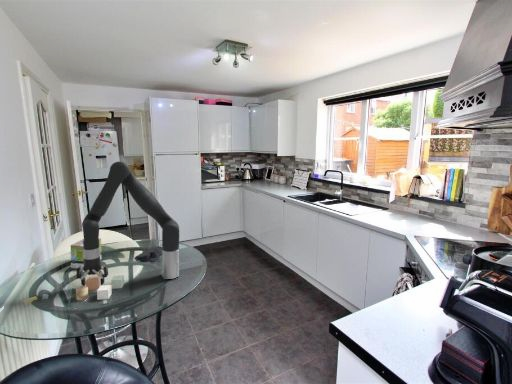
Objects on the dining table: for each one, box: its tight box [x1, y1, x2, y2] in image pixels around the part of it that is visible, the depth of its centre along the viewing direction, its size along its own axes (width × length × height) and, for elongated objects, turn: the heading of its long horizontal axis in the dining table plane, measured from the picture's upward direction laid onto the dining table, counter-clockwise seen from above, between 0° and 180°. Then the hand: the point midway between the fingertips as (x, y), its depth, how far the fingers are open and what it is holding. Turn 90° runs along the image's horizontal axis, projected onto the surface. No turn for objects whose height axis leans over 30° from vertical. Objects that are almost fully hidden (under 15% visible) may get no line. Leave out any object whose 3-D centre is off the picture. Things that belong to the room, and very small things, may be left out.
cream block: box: [96, 284, 113, 301], centre depth 134 cm, size 5×5×5 cm
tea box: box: [70, 238, 102, 270], centre depth 167 cm, size 15×10×15 cm
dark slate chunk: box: [134, 245, 162, 263], centre depth 186 cm, size 15×22×5 cm
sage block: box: [110, 274, 125, 290], centre depth 144 cm, size 5×5×5 cm
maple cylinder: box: [75, 285, 89, 302], centre depth 132 cm, size 5×5×5 cm
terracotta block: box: [85, 275, 101, 291], centre depth 142 cm, size 5×5×5 cm
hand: (93, 284), depth 142 cm, fingers open, 8 cm apart
